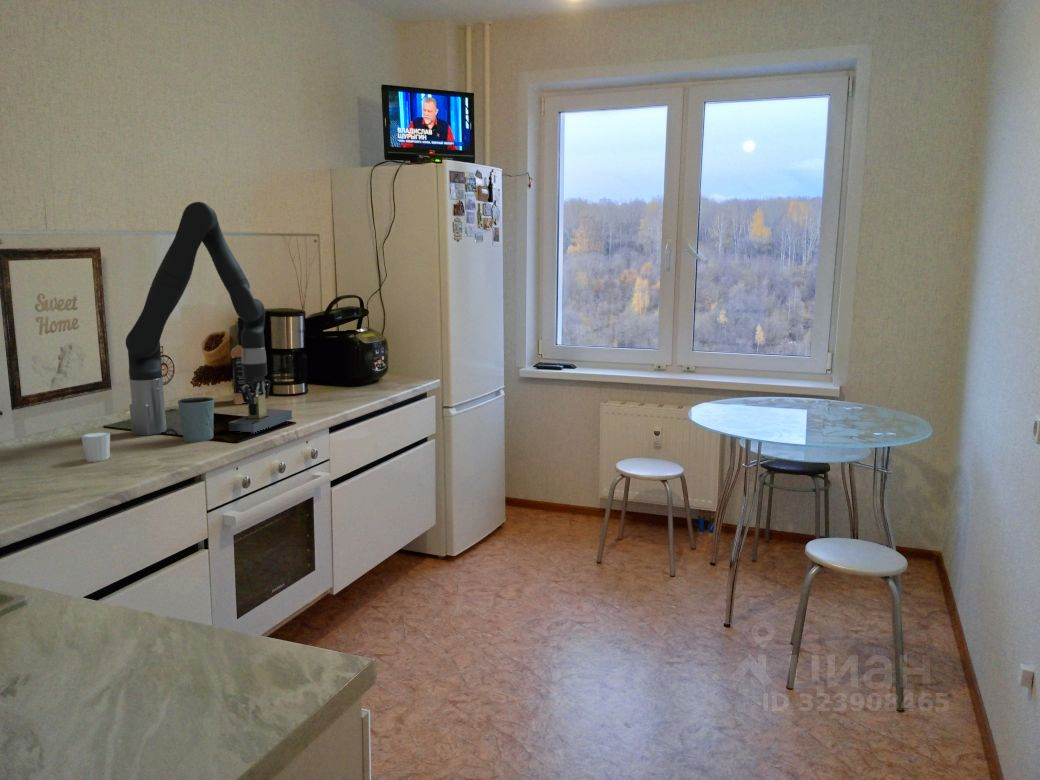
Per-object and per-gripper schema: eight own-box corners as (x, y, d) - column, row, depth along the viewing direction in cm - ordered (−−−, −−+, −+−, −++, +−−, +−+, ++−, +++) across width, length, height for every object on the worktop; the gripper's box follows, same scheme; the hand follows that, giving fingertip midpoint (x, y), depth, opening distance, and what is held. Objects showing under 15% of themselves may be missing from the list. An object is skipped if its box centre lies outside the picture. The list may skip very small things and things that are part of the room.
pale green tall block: (259, 420, 250) (258, 396, 249) (248, 420, 251) (247, 395, 250) (266, 418, 254) (265, 394, 253) (255, 417, 255) (254, 393, 254)
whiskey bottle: (235, 399, 298) (229, 316, 292) (262, 398, 301) (257, 315, 295) (233, 404, 288) (227, 318, 283) (261, 403, 291) (255, 318, 285)
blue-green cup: (175, 442, 232) (171, 402, 230) (189, 434, 242) (186, 396, 240) (208, 442, 232) (206, 402, 230) (221, 434, 242) (219, 396, 240)
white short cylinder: (105, 454, 218) (103, 430, 217) (116, 458, 214) (114, 434, 212) (79, 459, 213) (77, 434, 211) (90, 464, 208) (87, 438, 207)
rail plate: (254, 433, 243) (253, 424, 243) (229, 431, 246) (228, 422, 245) (291, 418, 264) (291, 410, 264) (268, 417, 267) (267, 408, 266)
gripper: (251, 364, 242) (254, 418, 245) (276, 358, 255) (279, 410, 258) (230, 364, 243) (234, 417, 247) (256, 358, 257) (259, 408, 260)
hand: (257, 413), depth 252 cm, fingers closed on pale green tall block, 3 cm apart
